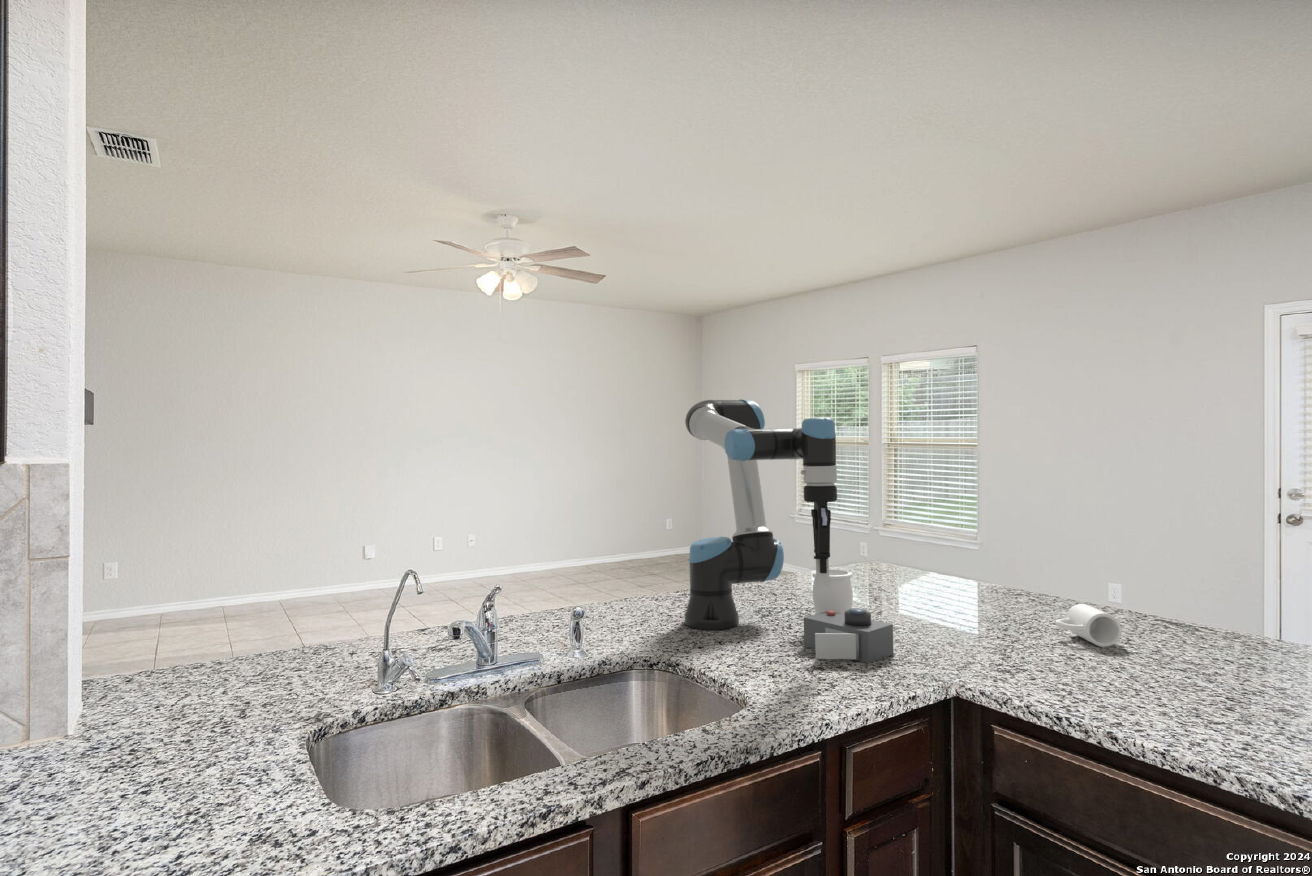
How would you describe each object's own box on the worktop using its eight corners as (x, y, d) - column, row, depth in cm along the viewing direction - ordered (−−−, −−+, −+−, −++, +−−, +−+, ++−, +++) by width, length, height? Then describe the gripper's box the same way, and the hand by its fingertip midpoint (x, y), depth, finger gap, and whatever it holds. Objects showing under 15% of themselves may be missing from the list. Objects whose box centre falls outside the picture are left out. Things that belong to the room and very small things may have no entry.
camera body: (803, 646, 164) (802, 605, 164) (829, 638, 170) (828, 598, 170) (868, 663, 150) (867, 618, 150) (893, 654, 156) (892, 611, 156)
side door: (816, 658, 152) (815, 633, 152) (815, 657, 153) (815, 632, 153) (859, 659, 151) (859, 634, 151) (859, 658, 152) (858, 633, 152)
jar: (858, 633, 174) (856, 575, 174) (818, 634, 174) (816, 576, 174) (847, 623, 184) (846, 568, 185) (809, 623, 185) (808, 568, 185)
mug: (1099, 635, 168) (1098, 603, 169) (1122, 647, 158) (1121, 613, 159) (1048, 635, 170) (1047, 603, 170) (1069, 646, 160) (1068, 613, 160)
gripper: (800, 483, 163) (803, 581, 162) (806, 486, 150) (809, 592, 149) (832, 483, 162) (834, 581, 161) (841, 485, 149) (844, 592, 148)
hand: (822, 586), depth 155 cm, fingers closed
